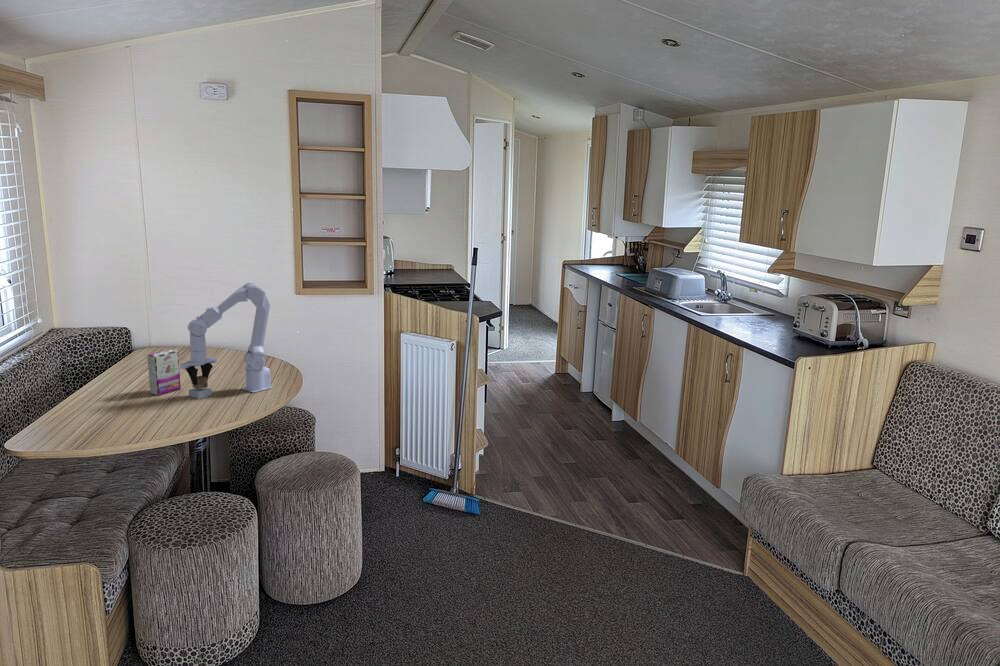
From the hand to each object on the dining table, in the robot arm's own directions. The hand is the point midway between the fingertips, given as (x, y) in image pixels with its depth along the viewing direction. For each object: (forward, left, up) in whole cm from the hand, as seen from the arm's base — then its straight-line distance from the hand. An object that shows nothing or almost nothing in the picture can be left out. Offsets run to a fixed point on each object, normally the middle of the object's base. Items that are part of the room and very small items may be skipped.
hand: (199, 383), depth 282 cm
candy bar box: (+6, -15, -6) cm, 17 cm away
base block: (0, 0, -6) cm, 6 cm away
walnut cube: (0, 0, -2) cm, 2 cm away
